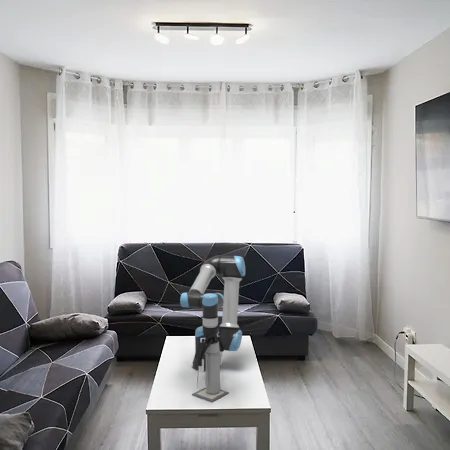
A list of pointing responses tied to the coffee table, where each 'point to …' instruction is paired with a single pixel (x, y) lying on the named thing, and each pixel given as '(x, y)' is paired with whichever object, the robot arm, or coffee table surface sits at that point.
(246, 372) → the coffee table surface
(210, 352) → the water bottle
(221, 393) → the coaster mat
